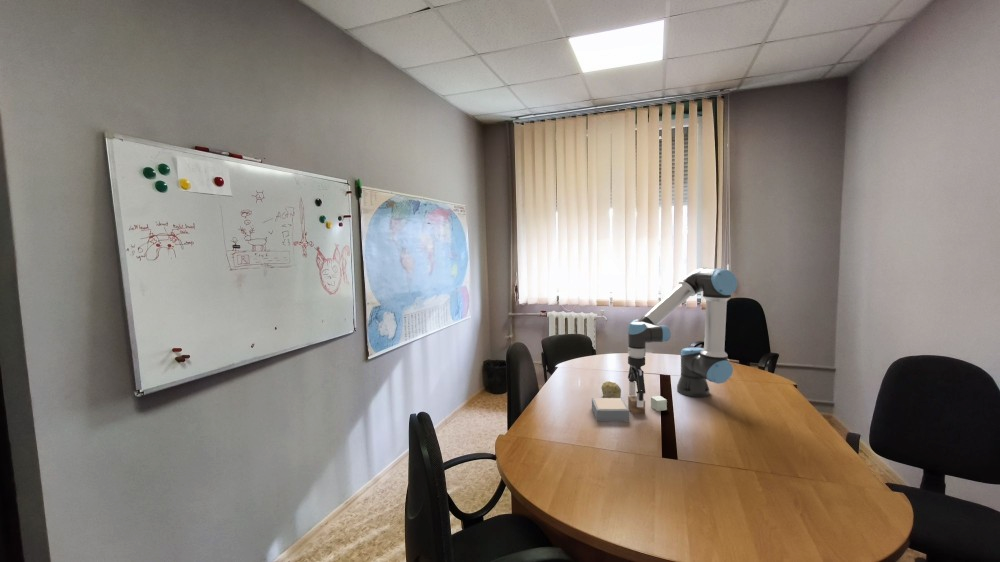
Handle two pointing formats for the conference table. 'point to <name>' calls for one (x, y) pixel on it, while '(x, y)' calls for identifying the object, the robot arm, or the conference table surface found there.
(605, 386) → the decorative item
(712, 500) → the conference table surface
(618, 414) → the plinth
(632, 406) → the walnut cube
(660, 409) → the sage cube
